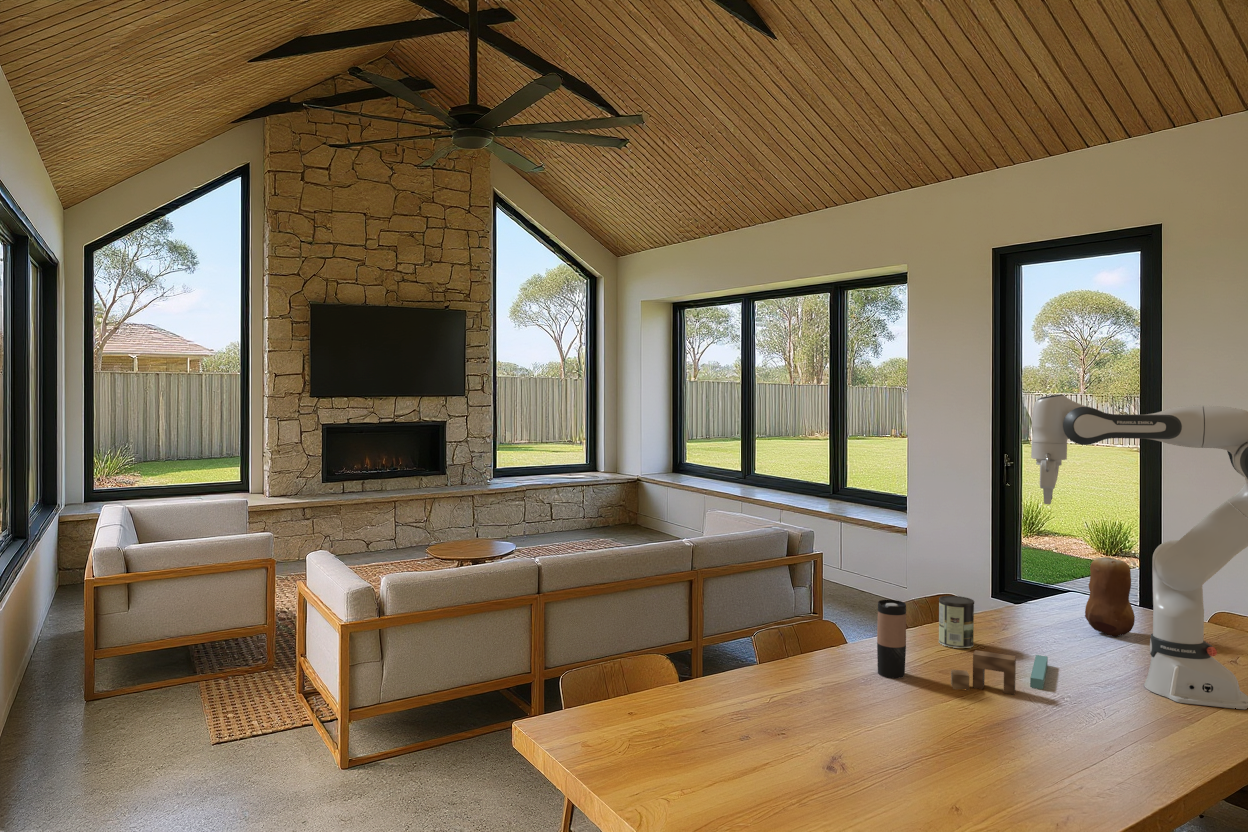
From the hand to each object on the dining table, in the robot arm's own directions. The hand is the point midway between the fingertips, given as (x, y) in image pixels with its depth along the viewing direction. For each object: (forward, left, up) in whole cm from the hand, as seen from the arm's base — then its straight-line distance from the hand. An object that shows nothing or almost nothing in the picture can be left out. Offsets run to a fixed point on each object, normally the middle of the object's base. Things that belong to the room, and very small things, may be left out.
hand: (1048, 502), depth 227 cm
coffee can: (+25, -14, -48) cm, 56 cm away
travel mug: (+37, +24, -48) cm, 66 cm away
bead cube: (+19, +25, -48) cm, 58 cm away
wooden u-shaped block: (+11, +22, -48) cm, 54 cm away
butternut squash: (-17, -50, -48) cm, 71 cm away
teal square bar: (+1, +5, -48) cm, 49 cm away
